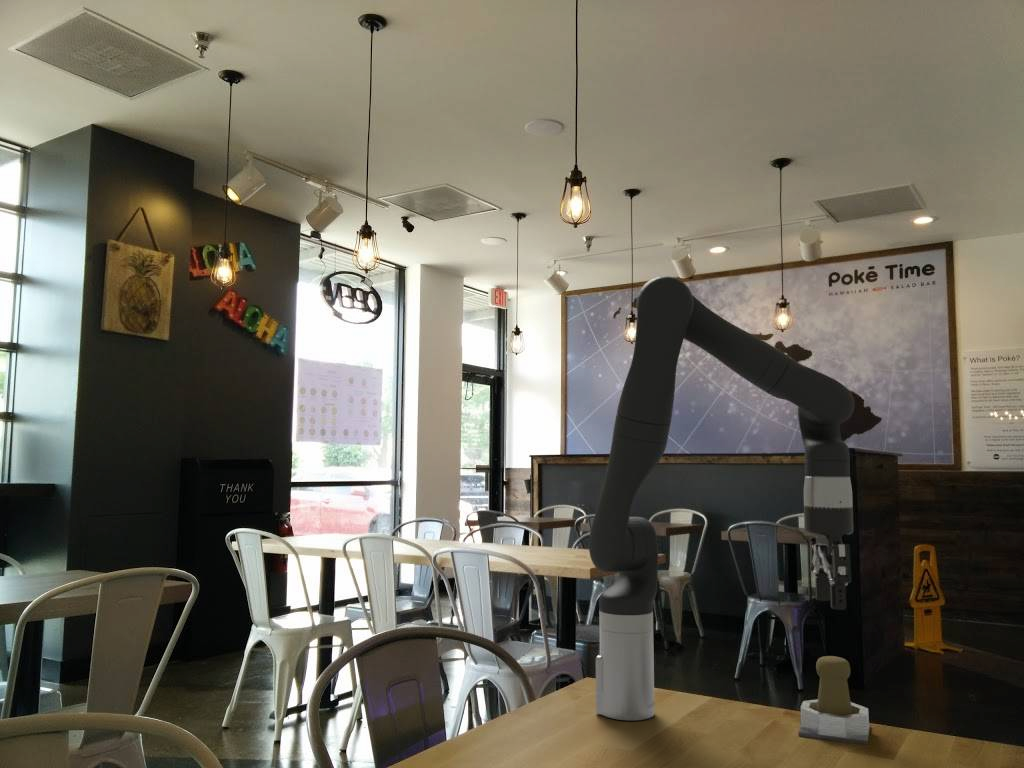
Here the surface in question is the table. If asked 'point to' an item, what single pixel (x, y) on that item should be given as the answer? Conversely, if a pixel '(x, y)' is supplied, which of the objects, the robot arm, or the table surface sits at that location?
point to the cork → (833, 686)
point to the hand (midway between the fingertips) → (830, 604)
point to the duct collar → (835, 724)
